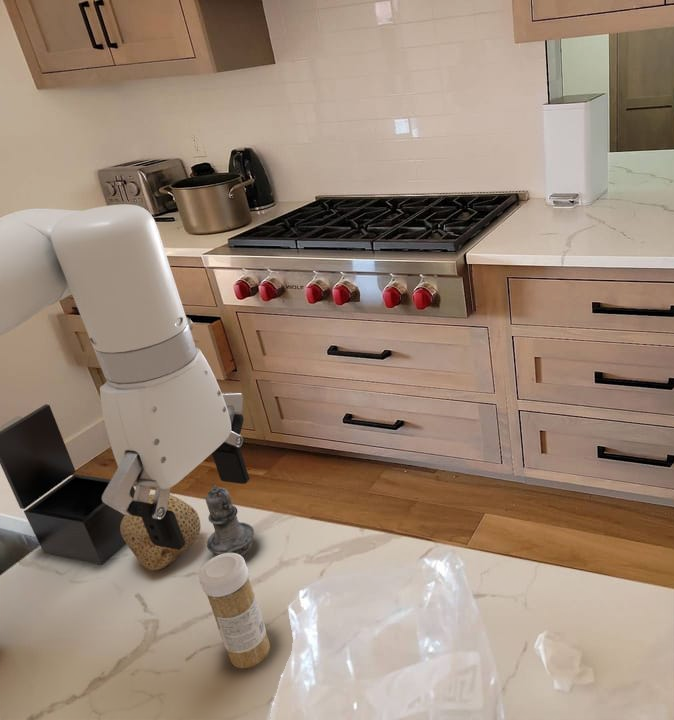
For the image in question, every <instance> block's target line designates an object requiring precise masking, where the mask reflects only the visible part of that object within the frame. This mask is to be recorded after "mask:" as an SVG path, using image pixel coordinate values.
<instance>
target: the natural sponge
mask: <svg viewBox="0 0 674 720" xmlns="http://www.w3.org/2000/svg"><path fill="white" fill-rule="evenodd" d="M154 496H155V493H154V494H149V499H148V503H151V504H153V501H154ZM167 510H170V511H173V512H174V514H175V516H176V519H177V522H178V524H179V527H180V529H181V532H182V535H183V537H184V540H185V545H184V546H183V547H182V548H181V549H180V550H178V549H172V548H167V547H161V546H156V545H155V544H153V543H152V541H151V539H150V537H149V535H148V532H147V530H146V527H145V525H144V522H143V520H142V518H141V517H138V516H132V515H126V514H125V515H124V517H123V519H122V522H121V525H120V531H121V535H122V537H123V539H124V541H125V542H126V544H125V545H127V547H128V549H130V551H131V552H132V553H133V555H134V556H135V558H136V559H137V561H138V562H139V563H140V564H141V566H143V567H144V568H146V569H148V570H150V571H157V570H161V569H163V568H165V567H168V566H169V565H170V564H172V563H173V562H175V560H177V559H178V558H179V556H180V555H181V554H182V553H184V552H185V551H187V550H188V549H190V548H191V547H192V546H193V545H194V544H195V543H196V541H197V539H198V537H199V535H200V530H201V520H200V516H199V514H198V512H197V510H196V509H195V508H194V507H192V506H191V505H190V504H188V503H187V502H185V501H184V500H182V499H180V498H179V497H176V496H174V495H172V494H170V496H169V501H168V506H167Z"/></svg>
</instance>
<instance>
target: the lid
mask: <svg viewBox="0 0 674 720" xmlns="http://www.w3.org/2000/svg"><path fill="white" fill-rule="evenodd" d="M0 467H1V469H2V471H3V474H4V475H5V478H6V480H7V482H8V484H9V487H10V489H11V491H12V494H13V495H14V498H15V500H16V502H17V504H18V506H19V509H21V510H26V509H28V508H29V507H30V506H32V505H33V504H34V503H36V502H37V501H39V500H40V499H41V498H43V497H44V496H45V495H47V494H48V493H50V492H51V491H52V490H54V489H55V488H56V487H58V486H59V485H61V484H62V483H63V482H65V481H66V480H68V479H69V478H70V477H72V476H73V475H74V474H76V471H77V470H76V469H75V466H74V463H73V461H72V459H71V456H70V454H69V451H68V448H67V446H66V444H65V440H64V438H63V435H62V433H61V431H60V428H59V425H58V422H57V420H56V417H55V416H54V413H53V411H52V407H51V405H50V404H48V403H46V404H44V405H42V406H40V407H39V408H37V409H35V410H34V411H32V412H30V413H28V414H27V415H25V416H24V417H23V416H21V415H17V416H15V417H13V418H11V419H10V420H8V421H6V422H4V423H3V424H1V425H0Z"/></svg>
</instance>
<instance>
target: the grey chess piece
mask: <svg viewBox="0 0 674 720" xmlns="http://www.w3.org/2000/svg"><path fill="white" fill-rule="evenodd" d="M205 502H206V505H207V508H208V511H209V514H208V522H209V523H211V524H212V526H213V529H214V532H213V533H211V535H210V536H209V537H208V539H207V541H206V547H207V550H208V551H209V552H211V553H212V554H213V555H214V557H215V556H218V555H220V554H224V553H236V554H239V555H241V556H242V557H244V556H245V555H246V554H247V553H248V552H249V551H250V549H251V548H252V545H253V540H254V534H255V529H254V527H253V526H252V525H250V524H249V523H246V522H239V519H238V516H237V514H238V508H237V507H236V505H233V501H232V498H231V496H230V493H229V491H228V490H227V489H226V488H224V487H218V486H217V485H216V484H212V486H211V490H209V491H208V492H207V494H206V496H205Z"/></svg>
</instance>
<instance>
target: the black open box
mask: <svg viewBox="0 0 674 720" xmlns="http://www.w3.org/2000/svg"><path fill="white" fill-rule="evenodd" d="M110 481H111V479H109V478H103V477H96V476H89V475H84V474H78V473H77V474H76V473H73V474H72V475H71V476H69V477H68V478H67V479H65V480H64V481H62V482H61V483H60V484H58V485H57V486H56V487H54V488H53V489H51V490H50V491H49V492H47V493H46V494H45V495H43V496H42V497H40V498H39V499H38V500H36V501H35V502H34V503H32V504H31V505H29V506H28V507H27V508H25V509H24V511H23V513H24V515H25V517H26V519H27V521H28V523H29V526H30V527H31V529H32V532H33V534H34V536H35V538H36V540H37V542H38V543H39V546H40V547H41V549H42V552H43V554H47V555H52V556H55V557H56V556H57V557H61V558H65V559H70V560H74V561H75V560H76V561H79V562H85V563H89V564H94V565H99V566H103V565H105V564H106V563H107V562H108V561H109V560H110V559H112V557H113V556H115V555H116V554H117V553H118V552H119V551H120V550H122V548H123V547H124V546H126V545H127V544H126V542H125V541H124V539H123V537H122V535H121V531H120V525H121V522H122V519H123V517H124V515H125V514H120V513H118V511H117V510H115V509H113V508H112V507H110V506H108V505H107V504H105V503H104V502H103V501H102V495H103V493H104V491H105V489H106V488H107V486H108V484H109V483H110ZM135 489H136V488H135V487H134V485H133V486H132V488H131V490H130V496H131V497H133V498H134V493H135Z"/></svg>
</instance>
